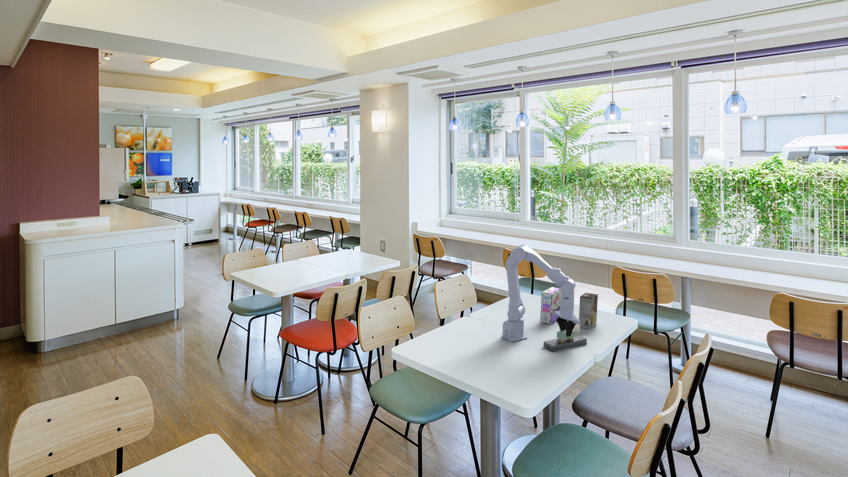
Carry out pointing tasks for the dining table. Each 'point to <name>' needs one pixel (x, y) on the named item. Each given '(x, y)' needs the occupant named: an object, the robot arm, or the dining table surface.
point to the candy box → (550, 305)
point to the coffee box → (588, 310)
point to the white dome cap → (577, 329)
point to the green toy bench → (564, 336)
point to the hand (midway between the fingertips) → (565, 335)
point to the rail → (555, 345)
